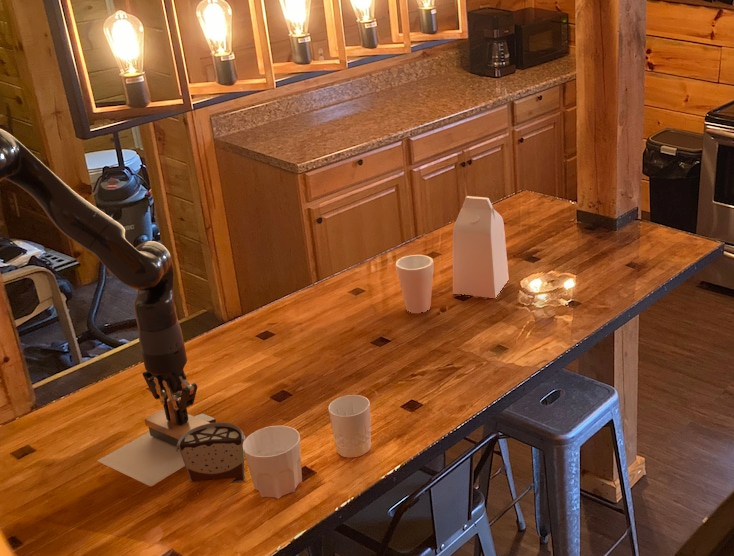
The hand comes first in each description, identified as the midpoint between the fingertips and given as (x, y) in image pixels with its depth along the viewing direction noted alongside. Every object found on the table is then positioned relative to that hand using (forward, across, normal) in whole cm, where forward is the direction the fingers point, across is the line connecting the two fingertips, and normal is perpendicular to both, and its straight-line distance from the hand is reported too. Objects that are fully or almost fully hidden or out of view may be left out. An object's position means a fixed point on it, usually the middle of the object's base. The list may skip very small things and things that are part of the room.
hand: (177, 420), depth 188 cm
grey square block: (+5, 0, +4) cm, 6 cm away
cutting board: (+5, 0, -5) cm, 7 cm away
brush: (+4, 0, 0) cm, 4 cm away
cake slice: (+6, +15, -3) cm, 16 cm away
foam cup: (+5, +1, +71) cm, 71 cm away
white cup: (+6, +31, +16) cm, 35 cm away
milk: (+5, +8, +89) cm, 90 cm away
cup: (+6, +27, 0) cm, 27 cm away
